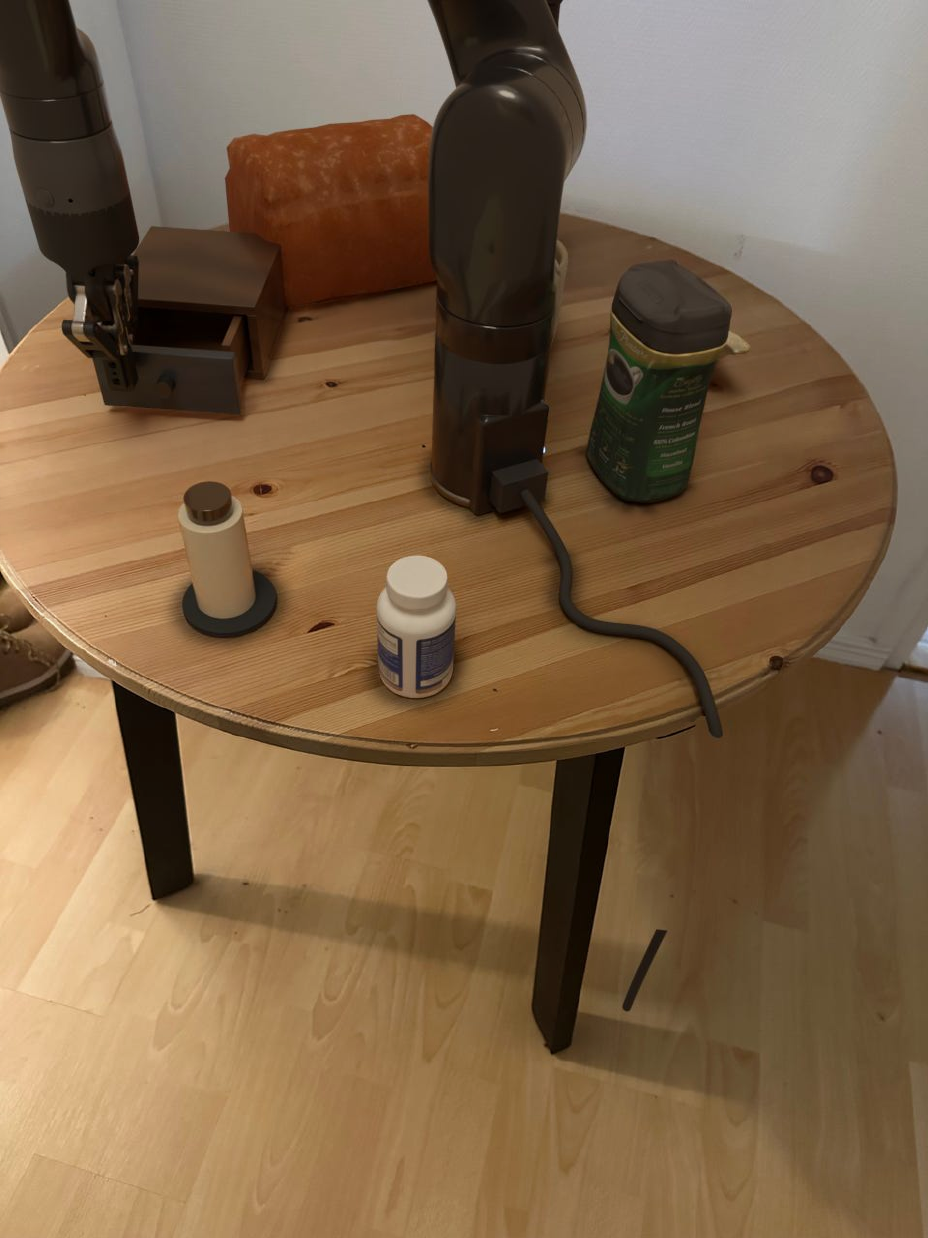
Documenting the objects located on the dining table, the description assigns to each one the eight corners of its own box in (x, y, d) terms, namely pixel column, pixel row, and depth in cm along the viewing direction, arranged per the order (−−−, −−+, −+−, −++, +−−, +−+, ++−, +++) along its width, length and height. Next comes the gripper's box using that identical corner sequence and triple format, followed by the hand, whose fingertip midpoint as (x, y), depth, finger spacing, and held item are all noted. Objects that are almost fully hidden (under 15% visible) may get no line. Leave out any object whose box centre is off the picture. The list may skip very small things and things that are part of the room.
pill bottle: (456, 648, 71) (462, 551, 64) (448, 704, 67) (454, 608, 60) (384, 640, 71) (382, 543, 64) (372, 696, 67) (369, 600, 60)
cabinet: (263, 380, 94) (255, 306, 88) (124, 370, 94) (106, 296, 88) (290, 305, 104) (284, 235, 98) (164, 296, 104) (150, 225, 98)
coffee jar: (700, 496, 84) (757, 302, 71) (621, 515, 82) (665, 318, 69) (647, 434, 90) (690, 244, 77) (572, 450, 88) (603, 257, 75)
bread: (475, 278, 109) (483, 143, 99) (271, 319, 101) (256, 176, 90) (414, 217, 120) (415, 88, 109) (224, 249, 111) (205, 113, 101)
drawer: (237, 422, 87) (229, 366, 83) (100, 413, 87) (84, 355, 83) (268, 338, 97) (262, 283, 93) (145, 329, 97) (134, 274, 93)
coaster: (289, 620, 72) (289, 615, 71) (198, 649, 69) (197, 644, 69) (259, 562, 76) (258, 556, 76) (172, 587, 74) (170, 582, 73)
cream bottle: (254, 575, 74) (238, 472, 67) (258, 615, 71) (241, 513, 64) (196, 581, 73) (173, 478, 66) (197, 622, 70) (174, 519, 63)
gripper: (99, 229, 67) (147, 433, 79) (150, 155, 76) (185, 349, 88) (-8, 222, 67) (57, 427, 79) (56, 149, 76) (105, 344, 88)
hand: (124, 386), depth 84 cm, fingers closed
